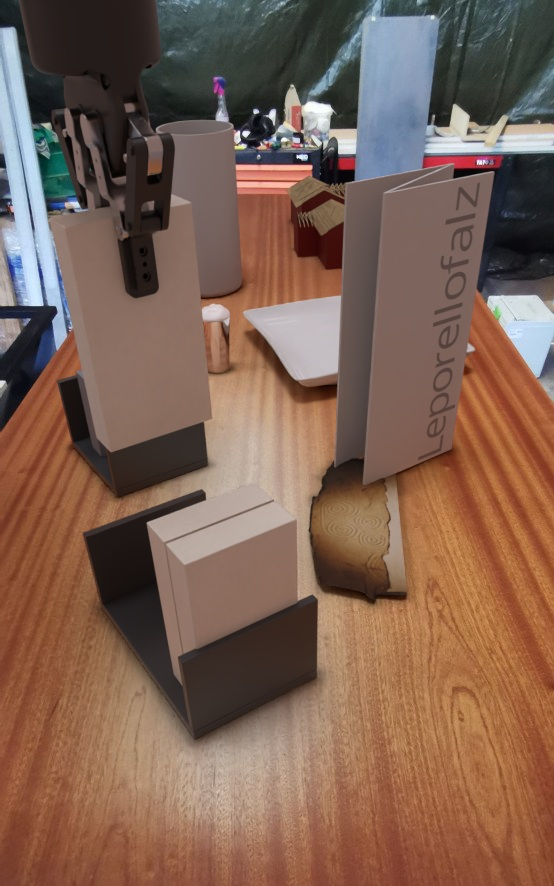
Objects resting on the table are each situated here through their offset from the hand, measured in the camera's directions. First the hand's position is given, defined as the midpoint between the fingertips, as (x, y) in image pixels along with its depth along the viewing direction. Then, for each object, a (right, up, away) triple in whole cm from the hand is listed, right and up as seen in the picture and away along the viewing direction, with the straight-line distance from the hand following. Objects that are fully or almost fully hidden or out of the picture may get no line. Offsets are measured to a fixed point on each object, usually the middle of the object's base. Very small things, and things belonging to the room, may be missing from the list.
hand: (132, 286), depth 52 cm
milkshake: (+1, +12, +58) cm, 59 cm away
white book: (0, -8, +7) cm, 11 cm away
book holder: (+3, -26, +16) cm, 30 cm away
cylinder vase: (-3, +35, +84) cm, 91 cm away
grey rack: (-7, -4, +40) cm, 41 cm away
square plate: (+22, +16, +61) cm, 67 cm away
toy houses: (+24, +49, +98) cm, 112 cm away
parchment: (+19, -14, +28) cm, 36 cm away
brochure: (+24, -5, +38) cm, 45 cm away
